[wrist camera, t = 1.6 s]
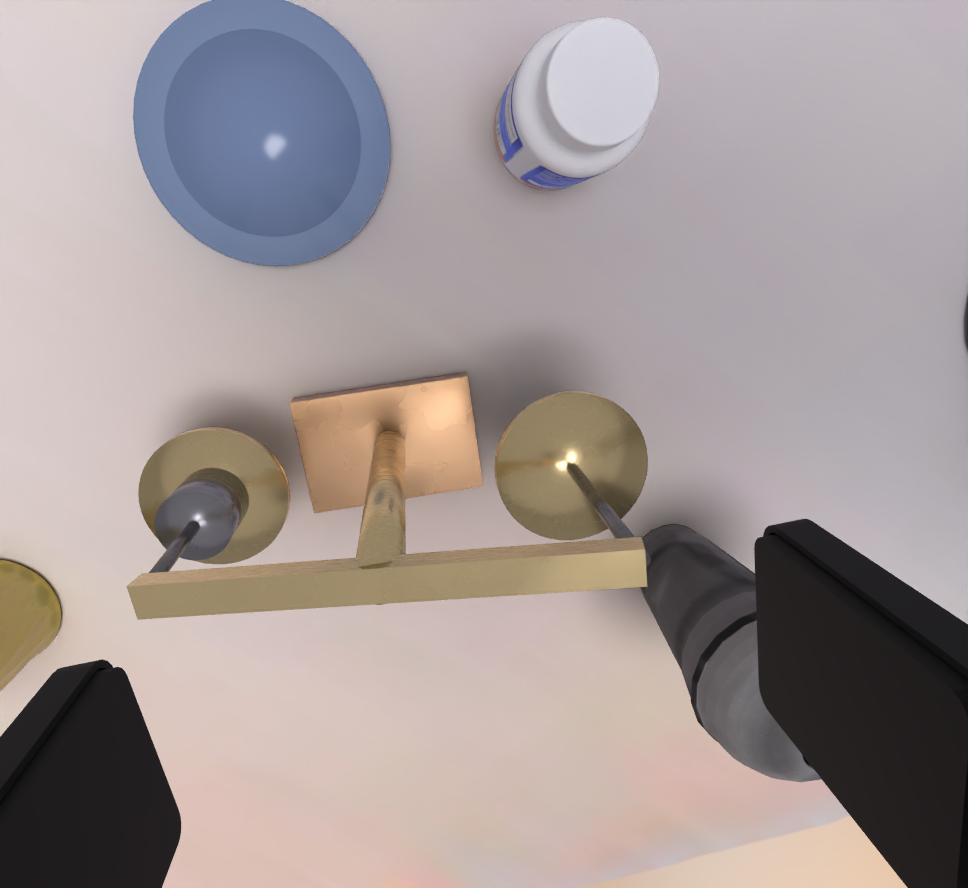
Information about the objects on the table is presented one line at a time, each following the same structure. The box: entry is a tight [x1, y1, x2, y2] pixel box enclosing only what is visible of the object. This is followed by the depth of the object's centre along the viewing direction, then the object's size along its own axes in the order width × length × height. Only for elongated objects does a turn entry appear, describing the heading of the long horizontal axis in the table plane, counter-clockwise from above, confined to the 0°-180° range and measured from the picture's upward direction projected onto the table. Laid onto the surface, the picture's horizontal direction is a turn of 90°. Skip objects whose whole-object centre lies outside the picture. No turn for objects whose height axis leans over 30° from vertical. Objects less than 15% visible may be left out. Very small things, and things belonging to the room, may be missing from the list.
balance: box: [127, 372, 651, 619], centre depth 26 cm, size 22×6×18 cm, turn 97°
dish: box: [133, 0, 390, 266], centre depth 29 cm, size 11×11×1 cm
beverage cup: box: [640, 524, 821, 782], centre depth 29 cm, size 7×7×20 cm
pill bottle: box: [494, 17, 659, 190], centre depth 27 cm, size 5×5×10 cm
